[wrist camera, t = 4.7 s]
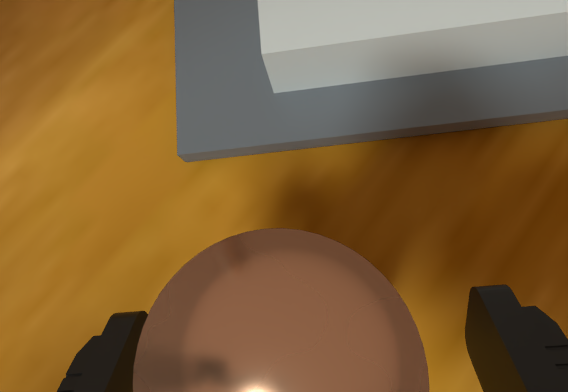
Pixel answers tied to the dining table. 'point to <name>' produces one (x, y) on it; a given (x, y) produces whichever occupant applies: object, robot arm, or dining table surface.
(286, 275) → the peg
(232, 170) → the dining table surface
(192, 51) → the dock
